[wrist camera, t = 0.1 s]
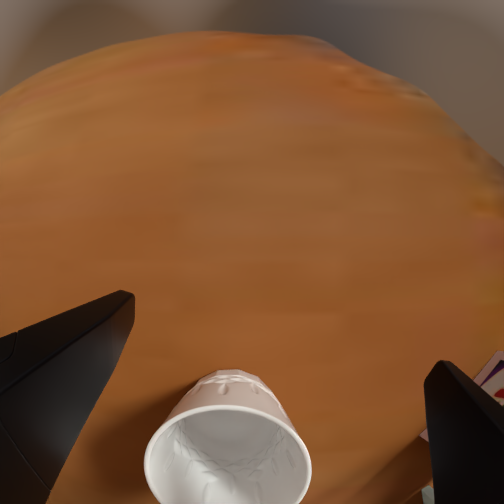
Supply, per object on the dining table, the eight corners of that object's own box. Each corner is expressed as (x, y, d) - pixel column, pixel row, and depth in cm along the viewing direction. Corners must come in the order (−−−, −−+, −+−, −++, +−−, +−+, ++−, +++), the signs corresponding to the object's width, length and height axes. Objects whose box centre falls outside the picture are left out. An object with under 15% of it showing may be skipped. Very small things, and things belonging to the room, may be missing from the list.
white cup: (272, 459, 21) (290, 537, 11) (173, 443, 21) (140, 515, 11) (292, 369, 22) (329, 416, 13) (186, 351, 22) (151, 387, 12)
